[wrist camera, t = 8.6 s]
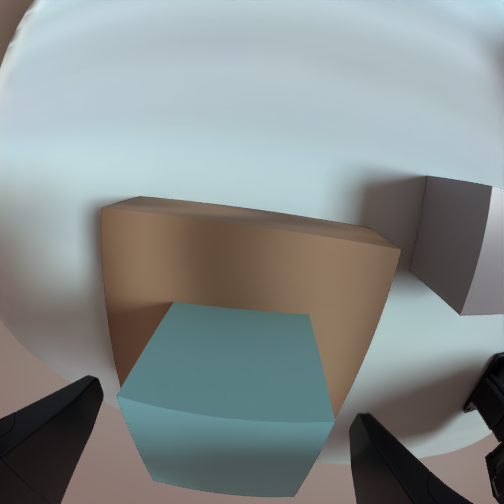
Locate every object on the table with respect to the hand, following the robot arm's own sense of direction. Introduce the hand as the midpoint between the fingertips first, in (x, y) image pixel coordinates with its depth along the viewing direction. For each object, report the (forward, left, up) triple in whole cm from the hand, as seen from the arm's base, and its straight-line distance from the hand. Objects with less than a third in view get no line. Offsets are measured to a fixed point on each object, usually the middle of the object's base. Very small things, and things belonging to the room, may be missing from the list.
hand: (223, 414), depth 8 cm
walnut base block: (0, 0, -7) cm, 7 cm away
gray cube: (-11, -6, -7) cm, 14 cm away
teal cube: (0, 0, -3) cm, 3 cm away
